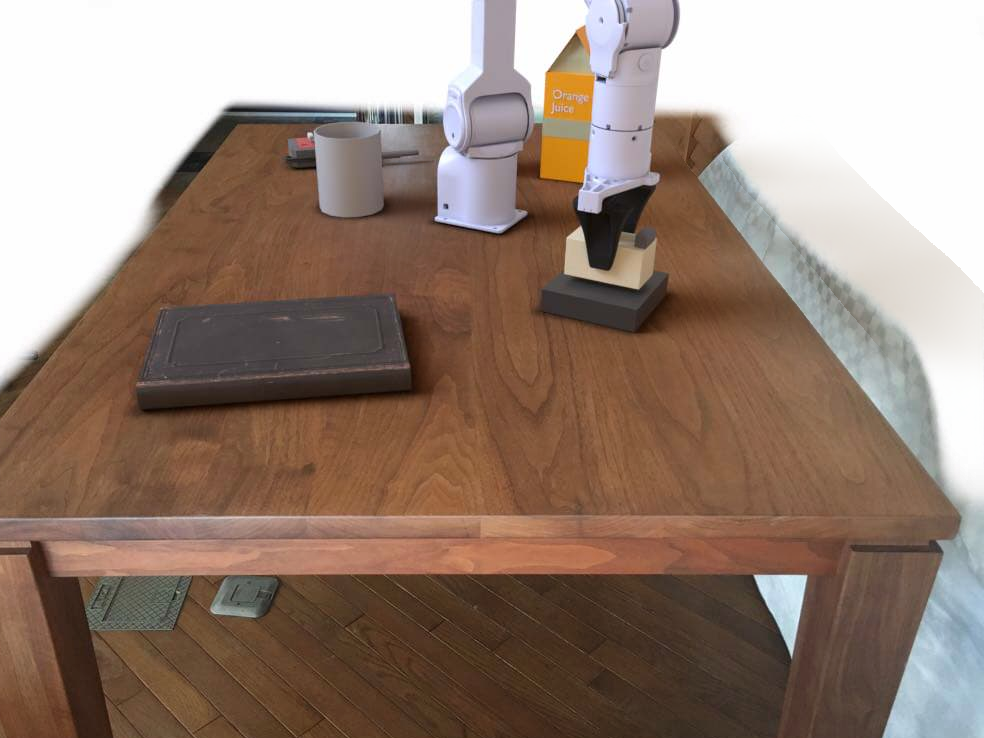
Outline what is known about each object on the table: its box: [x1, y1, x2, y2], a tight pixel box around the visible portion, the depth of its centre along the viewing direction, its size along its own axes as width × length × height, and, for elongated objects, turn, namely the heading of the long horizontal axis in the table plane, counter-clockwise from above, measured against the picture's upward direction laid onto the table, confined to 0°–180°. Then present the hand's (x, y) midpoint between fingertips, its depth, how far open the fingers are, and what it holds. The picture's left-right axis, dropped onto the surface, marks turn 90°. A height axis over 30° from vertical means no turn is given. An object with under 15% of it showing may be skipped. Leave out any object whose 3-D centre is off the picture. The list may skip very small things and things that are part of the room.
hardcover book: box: [135, 292, 412, 411], centre depth 83 cm, size 16×23×2 cm
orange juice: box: [539, 24, 595, 184], centre depth 126 cm, size 8×9×20 cm
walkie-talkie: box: [283, 132, 420, 169], centre depth 136 cm, size 9×4×20 cm
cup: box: [313, 121, 385, 218], centre depth 117 cm, size 8×8×10 cm
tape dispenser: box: [563, 225, 658, 290], centre depth 90 cm, size 8×4×7 cm, turn 60°
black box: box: [540, 269, 670, 333], centre depth 93 cm, size 10×10×2 cm
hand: (608, 260), depth 91 cm, fingers closed on tape dispenser, 4 cm apart
